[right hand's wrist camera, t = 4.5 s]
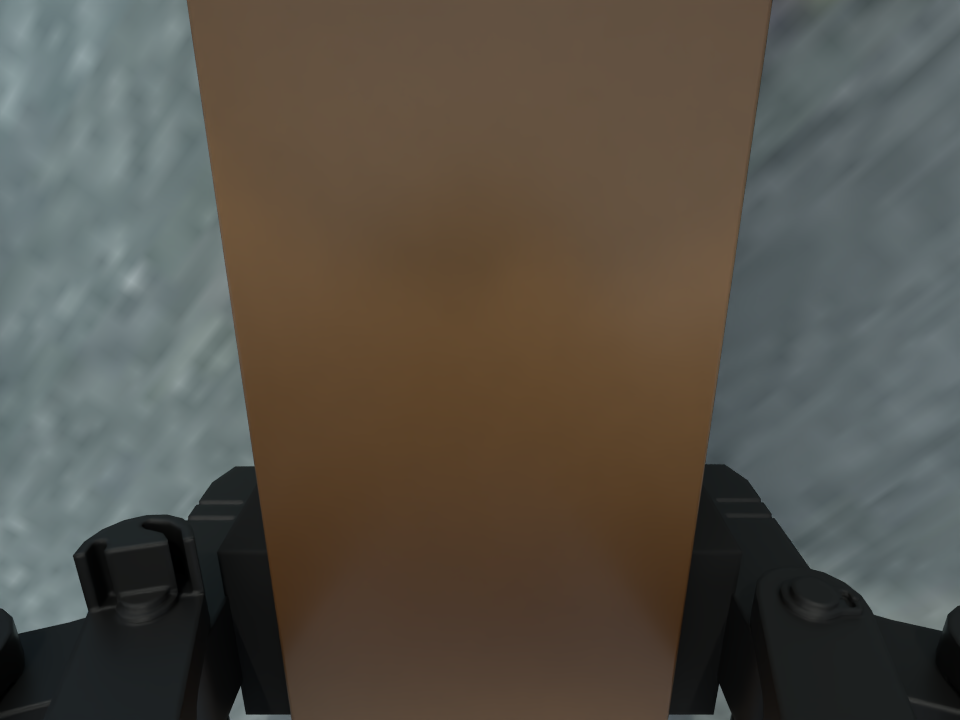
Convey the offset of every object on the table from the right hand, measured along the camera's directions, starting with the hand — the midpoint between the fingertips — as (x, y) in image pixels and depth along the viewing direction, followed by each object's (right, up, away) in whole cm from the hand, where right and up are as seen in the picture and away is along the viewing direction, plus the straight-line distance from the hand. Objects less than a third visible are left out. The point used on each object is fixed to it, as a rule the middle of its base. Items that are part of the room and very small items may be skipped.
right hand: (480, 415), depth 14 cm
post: (0, +25, -9) cm, 27 cm away
